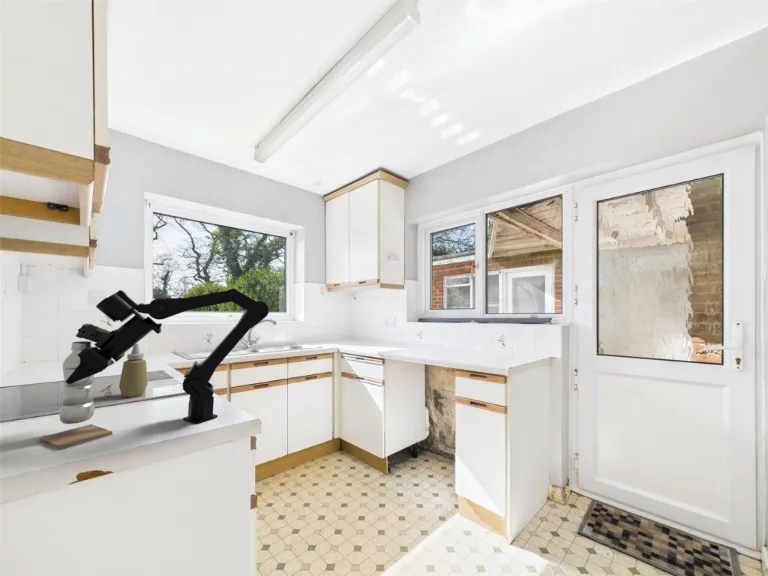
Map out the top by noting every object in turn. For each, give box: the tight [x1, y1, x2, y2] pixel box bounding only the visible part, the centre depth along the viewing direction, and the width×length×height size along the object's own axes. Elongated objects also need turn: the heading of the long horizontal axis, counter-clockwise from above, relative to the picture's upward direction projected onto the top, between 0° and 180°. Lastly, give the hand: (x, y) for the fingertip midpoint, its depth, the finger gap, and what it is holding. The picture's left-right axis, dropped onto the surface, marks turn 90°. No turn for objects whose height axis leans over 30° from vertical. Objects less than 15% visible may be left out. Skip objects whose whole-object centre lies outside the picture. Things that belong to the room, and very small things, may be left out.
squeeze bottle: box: [118, 343, 148, 398], centre depth 117 cm, size 8×8×18 cm
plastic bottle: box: [58, 340, 96, 425], centre depth 83 cm, size 6×7×20 cm
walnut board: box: [38, 424, 113, 451], centre depth 80 cm, size 10×10×1 cm
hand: (72, 380), depth 83 cm, fingers closed on plastic bottle, 6 cm apart
